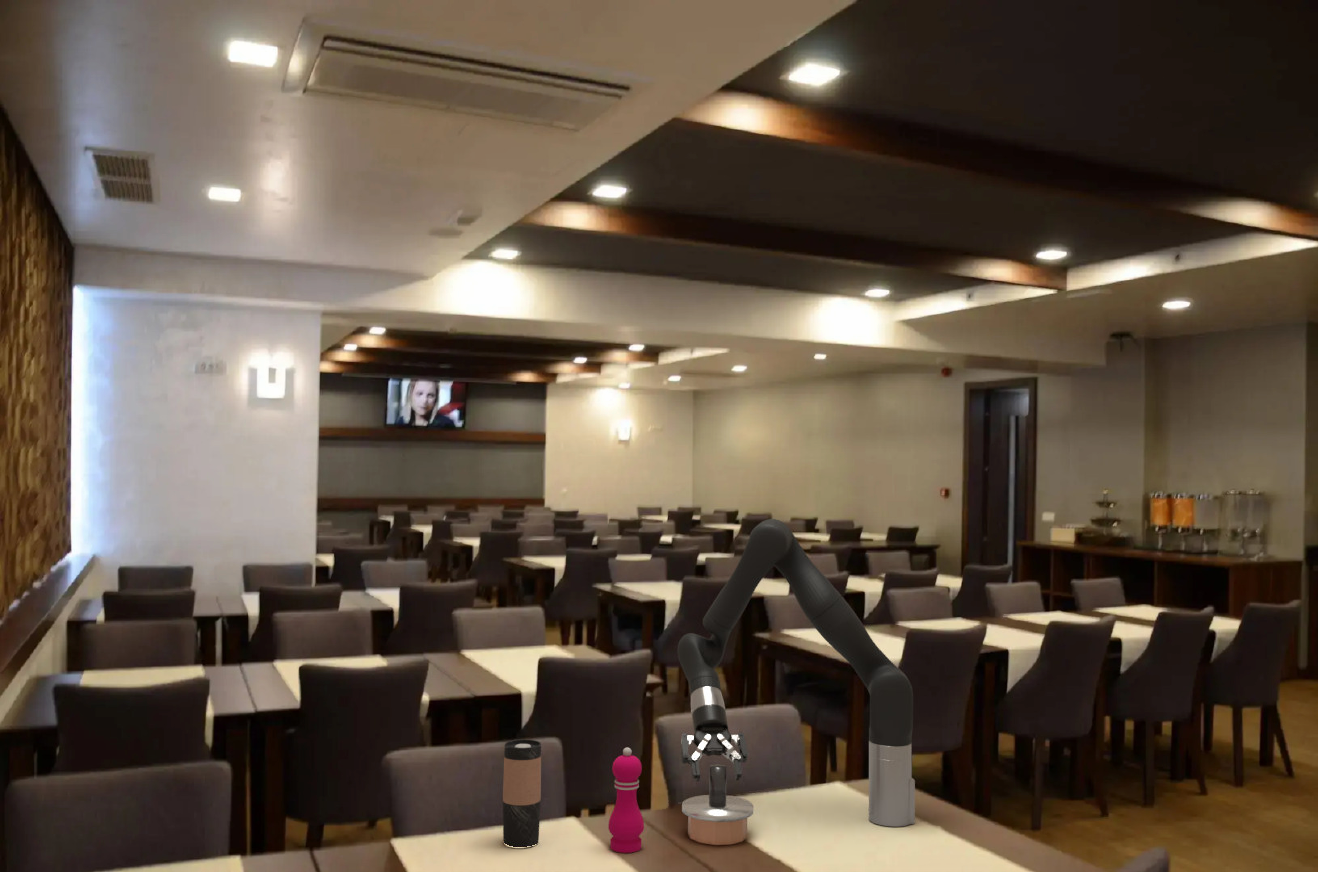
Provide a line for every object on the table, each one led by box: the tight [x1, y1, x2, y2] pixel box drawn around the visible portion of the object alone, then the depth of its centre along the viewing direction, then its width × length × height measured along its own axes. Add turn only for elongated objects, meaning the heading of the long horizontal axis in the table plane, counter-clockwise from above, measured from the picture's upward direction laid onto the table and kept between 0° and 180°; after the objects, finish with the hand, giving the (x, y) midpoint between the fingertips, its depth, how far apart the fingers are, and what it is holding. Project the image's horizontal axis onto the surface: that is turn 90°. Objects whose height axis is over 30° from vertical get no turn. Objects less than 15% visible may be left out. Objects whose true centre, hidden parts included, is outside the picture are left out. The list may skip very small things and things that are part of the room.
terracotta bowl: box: [687, 816, 748, 846], centre depth 222 cm, size 12×12×5 cm
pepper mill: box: [607, 747, 645, 854], centre depth 214 cm, size 7×7×20 cm
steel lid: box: [681, 763, 754, 822], centre depth 223 cm, size 15×15×9 cm
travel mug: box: [502, 739, 542, 847], centre depth 216 cm, size 8×8×20 cm
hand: (718, 778), depth 222 cm, fingers open, 8 cm apart
